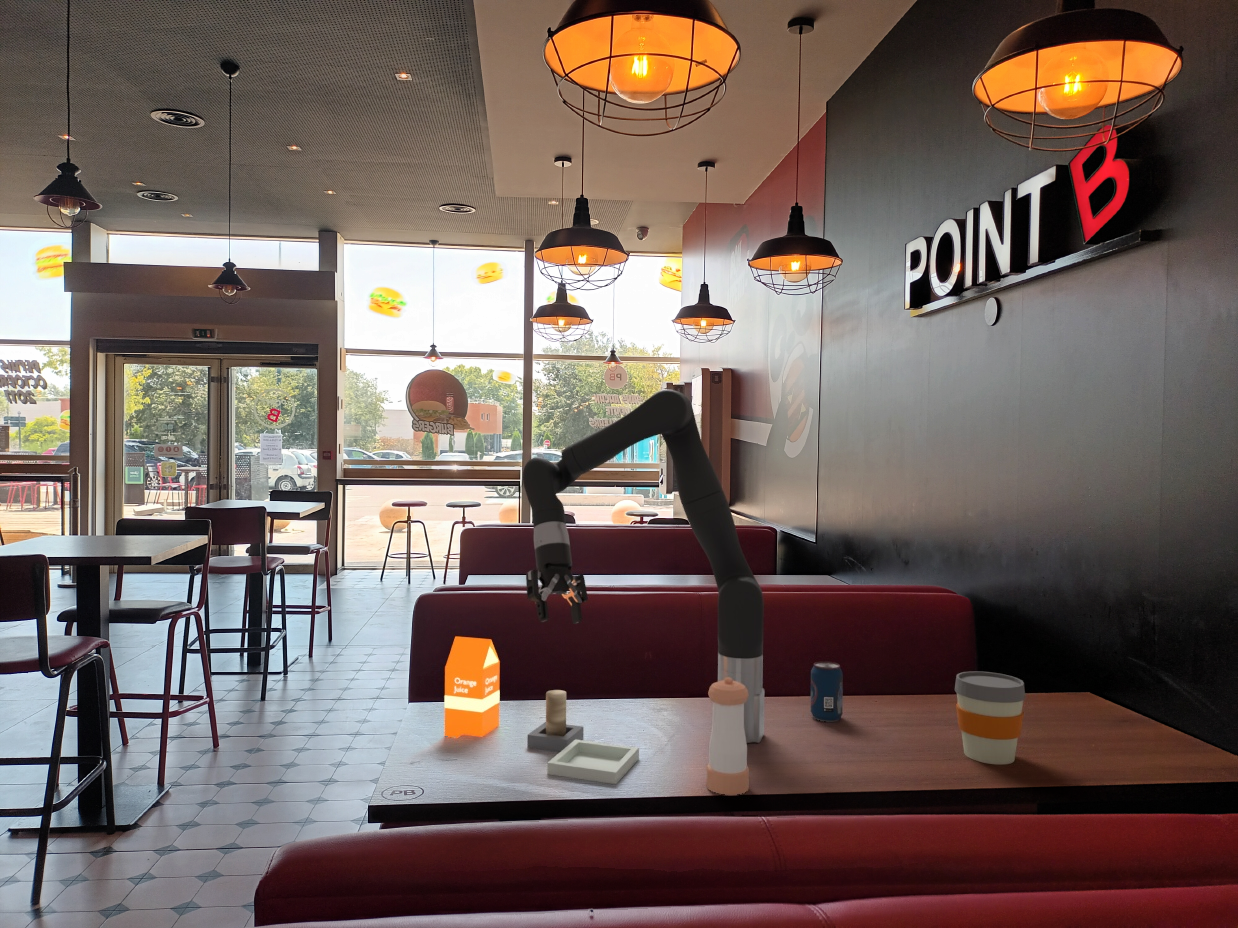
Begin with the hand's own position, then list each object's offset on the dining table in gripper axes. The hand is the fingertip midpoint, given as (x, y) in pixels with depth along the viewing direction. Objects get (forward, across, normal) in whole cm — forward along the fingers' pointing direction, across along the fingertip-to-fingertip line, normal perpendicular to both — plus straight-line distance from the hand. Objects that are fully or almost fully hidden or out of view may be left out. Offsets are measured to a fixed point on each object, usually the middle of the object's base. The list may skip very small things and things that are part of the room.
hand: (560, 621), depth 163 cm
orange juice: (+18, -8, +24) cm, 31 cm away
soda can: (+25, +57, -20) cm, 65 cm away
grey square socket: (+24, 0, +6) cm, 25 cm away
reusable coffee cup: (+38, +61, -52) cm, 88 cm away
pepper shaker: (+36, +11, -26) cm, 46 cm away
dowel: (+23, 0, +6) cm, 24 cm away
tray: (+30, -2, -7) cm, 30 cm away
